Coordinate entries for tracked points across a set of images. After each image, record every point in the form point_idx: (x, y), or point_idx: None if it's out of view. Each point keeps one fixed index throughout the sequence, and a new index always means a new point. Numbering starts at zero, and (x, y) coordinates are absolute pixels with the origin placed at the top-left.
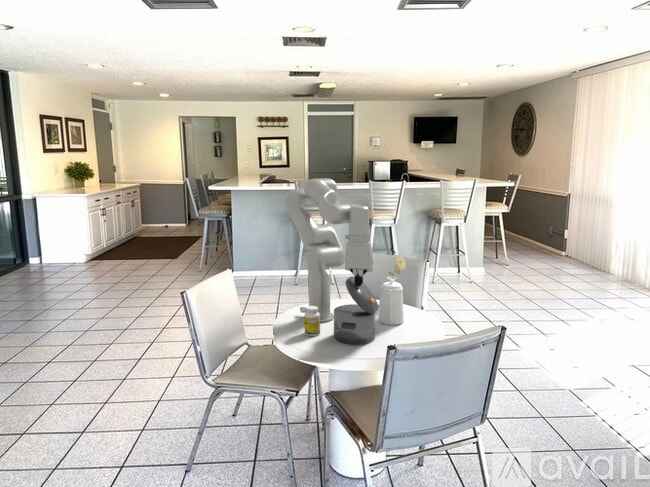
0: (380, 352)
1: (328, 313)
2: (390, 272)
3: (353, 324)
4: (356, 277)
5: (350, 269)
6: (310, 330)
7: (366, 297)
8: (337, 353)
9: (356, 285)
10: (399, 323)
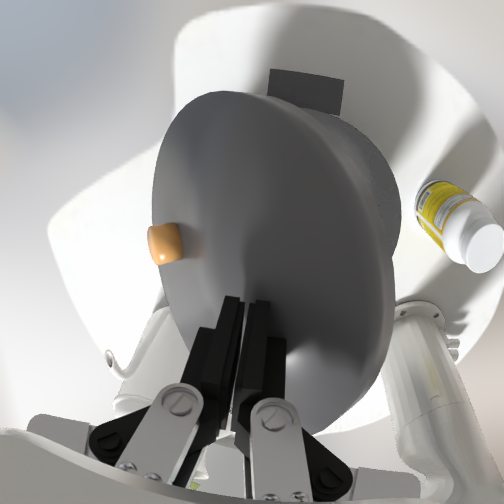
0: (174, 66)
1: None
2: (192, 487)
3: (276, 84)
4: (252, 377)
5: (345, 489)
6: (451, 185)
7: (193, 254)
8: (329, 29)
9: (261, 304)
10: (154, 312)
